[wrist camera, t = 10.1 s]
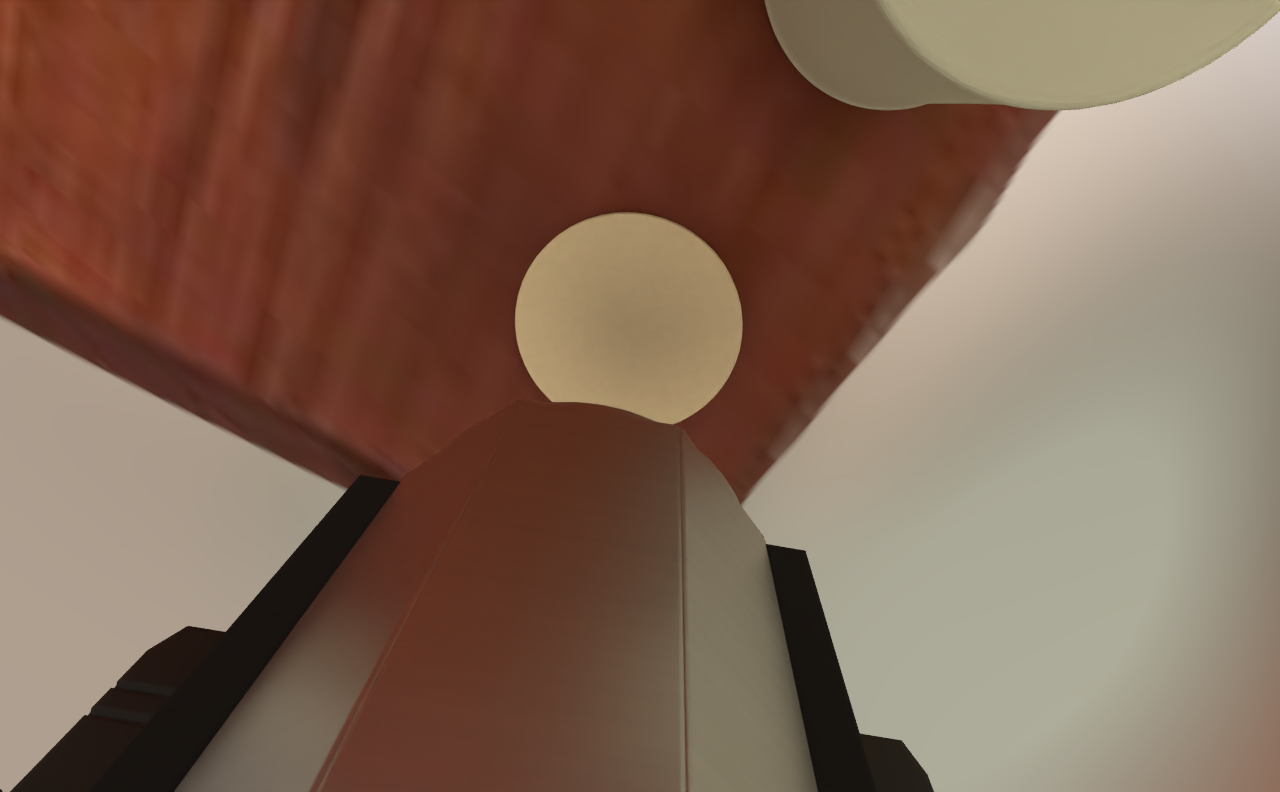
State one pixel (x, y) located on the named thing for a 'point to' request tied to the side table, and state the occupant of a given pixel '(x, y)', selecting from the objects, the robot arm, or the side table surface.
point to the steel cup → (535, 631)
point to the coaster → (629, 317)
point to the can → (1006, 48)
